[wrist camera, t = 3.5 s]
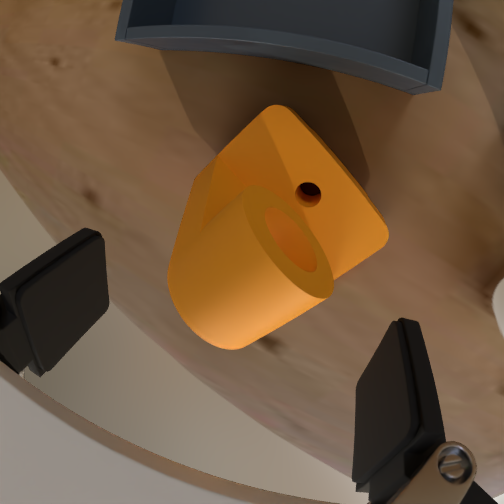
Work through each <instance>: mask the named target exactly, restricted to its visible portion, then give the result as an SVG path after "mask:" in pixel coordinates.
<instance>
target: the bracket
mask: <svg viewBox="0 0 504 504" xmlns="http://www.w3.org/2000/svg"><path fill="white" fill-rule="evenodd" d="M304 182H311V183H314V184H316V185H317V186H318V187H319V189H320V191H321V192H320V193H319V194H317V195H315V196H309V195H306V194H305V193H304V192H303V191H302V190H301V187H300V184H302V183H304ZM388 237H389V232H388V228H387V226H386V223H385V221H384V218H383V216H382V215H381V214H380V212H379V211H378V210H377V208H376V207H375V206H374V204H373V203H372V202H371V200H370V199H369V198H368V195H367V193H366V192H365V191H364V189H363V188H362V187H361V186H360V184H359V183H358V182H357V181H356V179H355V178H354V177H353V176H352V174H351V173H350V172H349V171H348V170H347V168H346V167H345V166H344V165H343V163H342V162H341V161H340V160H339V159H338V157H337V156H336V155H335V154H334V153H333V152H332V150H331V149H330V148H329V147H328V146H327V145H326V144H325V142H324V141H323V140H322V139H321V138H320V137H319V136H318V134H317V133H316V132H315V131H314V130H313V129H311V128H310V127H309V126H308V125H307V124H306V123H305V122H304V121H303V120H302V119H301V117H300V116H299V115H298V114H297V113H296V112H295V111H294V110H293V109H292V108H290V107H288V106H283V105H272V106H269V107H267V108H266V109H265V110H263V111H262V112H261V113H260V114H259V115H258V116H257V117H256V118H255V119H254V120H253V121H252V122H251V123H250V124H249V125H247V126H246V127H245V128H244V129H243V130H242V131H241V132H240V133H239V134H238V135H237V136H236V137H235V138H234V139H233V140H232V141H231V142H230V143H229V144H228V145H227V146H226V147H225V148H224V149H223V150H222V151H221V152H220V153H219V154H218V155H217V156H216V157H215V158H214V159H213V160H212V161H211V162H210V163H209V164H208V165H207V166H206V167H205V168H204V169H203V170H202V171H201V172H200V174H199V175H198V176H197V177H196V178H195V179H194V182H193V186H192V189H191V192H190V195H189V198H188V201H187V205H186V208H185V211H184V214H183V218H182V221H181V224H180V228H179V231H178V235H177V238H176V242H175V245H174V249H173V252H172V256H171V260H170V263H169V267H168V275H167V279H168V287H169V291H170V295H171V298H172V300H173V303H174V305H175V307H176V309H177V311H178V312H179V314H180V316H181V317H182V318H183V320H184V321H185V322H186V324H187V325H188V326H189V327H190V328H191V329H192V330H193V331H194V332H195V333H196V334H197V335H198V336H200V337H201V338H202V339H204V340H205V341H207V342H208V343H210V344H212V345H214V346H217V347H220V348H223V349H230V350H234V349H240V348H243V347H245V346H247V345H248V344H250V343H252V342H254V341H256V340H257V339H259V338H261V337H263V336H264V335H266V334H268V333H270V332H271V331H273V330H275V329H277V328H278V327H280V326H282V325H284V324H285V323H287V322H289V321H290V320H292V319H294V318H295V317H297V316H299V315H300V314H302V313H304V312H305V311H307V310H309V309H310V308H312V307H314V306H315V305H317V304H318V303H320V302H322V301H323V300H325V299H327V298H328V297H330V296H331V294H332V292H333V289H334V280H335V279H336V278H338V277H339V276H341V275H342V274H344V273H345V272H347V271H348V270H350V269H351V268H353V267H354V266H356V265H357V264H359V263H360V262H362V261H363V260H365V259H366V258H367V257H369V256H370V255H372V254H373V253H375V252H376V251H378V250H379V249H380V248H382V247H383V246H384V245H385V244H386V242H387V240H388Z"/></svg>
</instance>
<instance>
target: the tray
mask: <svg viewBox="0 0 504 504" xmlns="http://www.w3.org/2000/svg"><path fill="white" fill-rule="evenodd" d="M452 11H453V0H123V3H122V7H121V12H120V16H119V21H118V26H117V31H116V36H115V40H116V41H121V42H126V43H132V44H137V45H141V46H146V47H151V48H155V49H159V50H185V51H206V52H220V53H231V54H241V55H249V56H257V57H264V58H271V59H278V60H284V61H289V62H295V63H300V64H305V65H310V66H315V67H320V68H324V69H328V70H333V71H337V72H341V73H345V74H348V75H352V76H356V77H360V78H363V79H367V80H370V81H373V82H377V83H380V84H383V85H386V86H389V87H392V88H395V89H398V90H401V91H404V92H407V93H410V94H412V95H416V94H422V93H427V92H433V91H439V90H441V87H442V82H443V77H444V71H445V65H446V59H447V53H448V46H449V38H450V30H451V21H452Z"/></svg>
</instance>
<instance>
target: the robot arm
mask: <svg viewBox="0 0 504 504" xmlns="http://www.w3.org/2000/svg"><path fill="white" fill-rule="evenodd" d="M0 291H1V295H0V504H338V503H331V502H324V501H317V500H312V499H306V498H301V497H295V496H290V495H285V494H280V493H276V492H271V491H267V490H263V489H258V488H254V487H251V486H247V485H243V484H239V483H236V482H232V481H229V480H226V479H222V478H219V477H216V476H213V475H210V474H207V473H204V472H201V471H198V470H195V469H193V468H190V467H187V466H184V465H181V464H179V463H177V462H174V461H171V460H169V459H166V458H164V457H162V456H159V455H157V454H154V453H152V452H150V451H148V450H145V449H143V448H141V447H139V446H137V445H134V444H132V443H130V442H128V441H126V440H124V439H122V438H120V437H118V436H116V435H114V434H112V433H110V432H108V431H106V430H105V429H103V428H100V427H99V426H97V425H95V424H94V423H92V422H90V421H88V420H86V419H85V418H83V417H81V416H80V415H78V414H76V413H75V412H73V411H71V410H70V409H68V408H66V407H65V406H63V405H62V404H60V403H58V402H57V401H55V400H54V399H52V398H51V397H49V396H48V395H46V394H45V393H43V392H42V391H40V390H39V389H37V388H36V387H35V386H33V385H32V384H30V383H29V382H27V381H26V380H25V379H24V371H25V367H26V366H27V365H28V367H29V369H30V370H31V371H32V372H33V373H35V374H36V375H38V376H39V377H41V376H42V375H43V374H44V373H45V372H46V371H50V370H51V369H52V368H53V367H54V366H55V365H56V364H57V363H58V362H59V361H60V359H61V358H62V357H63V356H64V355H65V354H66V353H67V352H68V351H69V350H70V349H71V348H72V347H73V345H74V344H75V343H76V342H77V341H78V340H79V339H80V338H81V337H82V336H83V335H84V334H85V333H86V332H87V331H88V330H89V329H90V328H91V326H93V324H95V322H96V321H97V320H98V319H99V318H100V317H101V316H102V315H103V314H104V313H105V312H106V311H107V309H108V307H109V294H108V284H107V272H106V258H105V242H104V239H103V238H102V235H101V233H100V232H98V231H95V230H92V229H88V228H83V229H81V230H80V231H78V232H76V233H75V234H73V235H72V236H70V237H68V238H67V239H65V240H63V241H62V242H60V243H59V244H57V245H56V246H54V247H52V248H51V249H49V250H48V251H46V252H45V253H43V254H42V255H40V256H39V257H37V258H36V259H34V260H33V261H31V262H30V263H28V264H27V265H25V266H24V267H22V268H21V269H20V270H18V271H17V272H15V273H14V274H12V275H11V276H10V277H8V278H7V279H5V280H4V281H2V282H1V283H0ZM476 467H477V465H476V461H475V458H474V456H473V454H472V452H471V451H470V450H469V449H468V448H467V447H466V446H464V445H463V444H461V443H459V442H455V441H448V442H446V439H445V432H444V426H443V421H442V415H441V410H440V405H439V400H438V395H437V390H436V386H435V382H434V377H433V373H432V369H431V365H430V361H429V357H428V354H427V350H426V346H425V342H424V339H423V335H422V332H421V328H420V325H419V323H418V322H417V321H413V320H409V319H405V318H399V319H398V321H393V322H392V323H391V324H390V326H389V328H388V330H387V332H386V334H385V335H384V337H383V339H382V341H381V343H380V344H379V346H378V348H377V350H376V352H375V353H374V355H373V357H372V359H371V360H370V362H369V364H368V365H367V367H366V369H365V370H364V372H363V374H362V375H361V377H360V379H359V381H358V383H357V386H356V409H355V437H354V455H353V469H352V481H353V482H356V492H366V493H369V501H370V502H369V503H367V504H498V503H497V502H496V501H495V500H494V499H493V498H491V497H490V496H489V495H488V494H487V493H486V492H485V491H484V490H483V489H482V488H481V487H480V486H479V485H478V484H477V483H476V482H475V481H474V478H475V475H476Z"/></svg>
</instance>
